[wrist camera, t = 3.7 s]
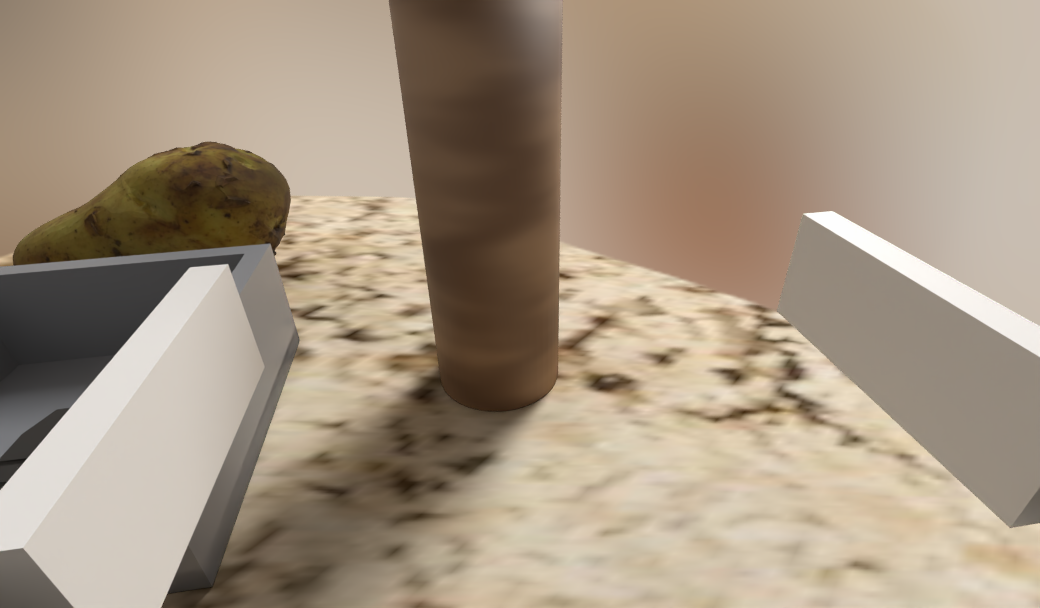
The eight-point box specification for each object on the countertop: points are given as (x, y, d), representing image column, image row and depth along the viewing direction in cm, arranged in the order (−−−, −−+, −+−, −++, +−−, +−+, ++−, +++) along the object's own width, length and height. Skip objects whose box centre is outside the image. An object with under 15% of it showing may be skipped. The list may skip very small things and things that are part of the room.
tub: (-293, 665, 13) (-500, 543, 11) (19, 370, 23) (-47, 270, 21) (212, 586, 15) (139, 461, 12) (299, 340, 25) (270, 243, 22)
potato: (145, 254, 33) (88, 125, 29) (332, 265, 31) (299, 128, 27) (19, 327, 26) (-80, 171, 22) (248, 347, 24) (187, 179, 20)
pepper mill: (442, 418, 20) (358, -167, 11) (439, 343, 24) (377, -125, 15) (569, 402, 21) (586, -167, 12) (545, 331, 25) (543, -126, 16)
